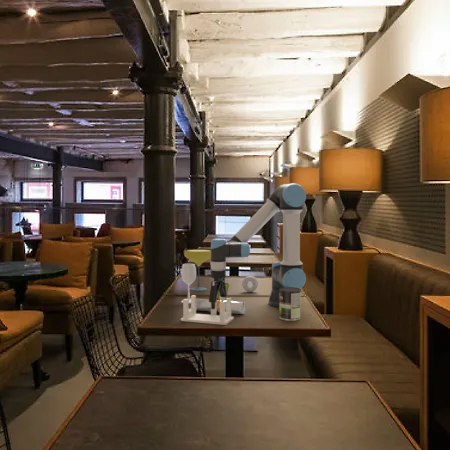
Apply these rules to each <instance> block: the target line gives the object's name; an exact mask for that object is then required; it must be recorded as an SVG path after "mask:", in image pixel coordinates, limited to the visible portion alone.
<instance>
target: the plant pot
mask: <svg viewBox="0 0 450 450" xmlns="http://www.w3.org/2000/svg"><path fill="white" fill-rule="evenodd" d="M230 285H231V284H230V283H229V282H226V281H225V286H226V292H227V295H228V293H229V287H230ZM220 297H221V296H220V293H219V291H218V294H217V298H216V300H220ZM226 298H228V296H227V297H225V300H226Z"/></svg>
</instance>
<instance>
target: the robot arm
mask: <svg viewBox="0 0 450 450" xmlns="http://www.w3.org/2000/svg"><path fill="white" fill-rule="evenodd" d="M306 200H307V193H306V189H305V188H304V187H303V186H302V185H300V184H298V183H295V182H294V183H293V182H292V183H284V184H281V185H279V186H278V187H277V188H276V189H275V190H274V191H273V192H272V193H271V195H269V197H267V198H266V202H265V203H264V204H263V205H262V206H261V207H260V208H259V209H258V210H257V211H256V212H255V214H253V216H251V218H249V220H248V221H246V223H245V224H243V225H242V227H241V228H240V229H239V230H238V231H236V233H235V234H234V235H233V236H232V237H231V238H229V239H225V238H212V239H211V241H210V249H211V258H210V263H209V264H210V278H212V279H213V281H211V282H210V291H209V297H208V298H209V302H211V312H210V315H217V313H218V312H217V302H216V300H217V299H216V298H217V294H218V291H219V293H220V296H221V297H220V299H219V300H223V301H226V299H225V297H227V298H228V294H227V292H226V286H225V282H226V279H225V278H226V277H227V276H226V275H227V274H226V272H227V270H226V269H227V258H228V259H229V258H242V259H243V258H249V256H250V253H251V248H250V244H249V241H250V240H251V239H252V238H253V237H255V235H256V234H257V233H259V231H260V230H261V229H262V228H263V227H264V225H266V224H267V223H268V222H269V221H270V220H271V219H272V217H274V216H275V215H276V213H280V212H281V213H282V260H281V261H277V262H276V261H275V262H273V263H272V264H271V292H270V295H269V296H268V305H269V306H274V307H279V289H280V288H283V287H295V288H299V289H301V288H303V287H304V286H305V283H306V282H307V277H306V273H305V271H304V264H303V262H302V261H301V213H302V212H303V211H304V204H305V202H306Z"/></svg>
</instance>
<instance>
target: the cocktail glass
mask: <svg viewBox="0 0 450 450" xmlns="http://www.w3.org/2000/svg"><path fill="white" fill-rule="evenodd" d="M183 255H184V257H185V258H186V259H187V260H189V261H191V262H193V263H194V264H195V266H197V268H198V269H197V271H198V273H197V275H198V276H197V278H198V279H197V286H196V287H191V288H190V291H192V292H204V291H208V288H207V287H201V284H200V266H202V264H204V263H205V262H206V261H208V260H211V248H187V249H184V252H183Z"/></svg>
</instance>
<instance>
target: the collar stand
mask: <svg viewBox="0 0 450 450" xmlns="http://www.w3.org/2000/svg"><path fill="white" fill-rule="evenodd" d="M190 299H191V303H190V304H189V299H187V298H184V299H183V300H182V301H183V303H182V305H183V306H182V307H183V308H182V309H183V311H182V312H183V313H182V314H183V316H182V317H181V318H180V321H181V322H189V323H201V324H209V325H212V324H213V325H222V326H224V325H225V326H226V325H228V324H229V323H230V322H232V321H233V320H234V318H235V317H234V316H232V313H231V301H232V297H227V298H226V299H225V301H226V311H225V302H220V313H219V315H211V314H206V313H205V314H204V313H197V311H196V299H197V295H193V294H192V295H190ZM189 305H190V308H189Z"/></svg>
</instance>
